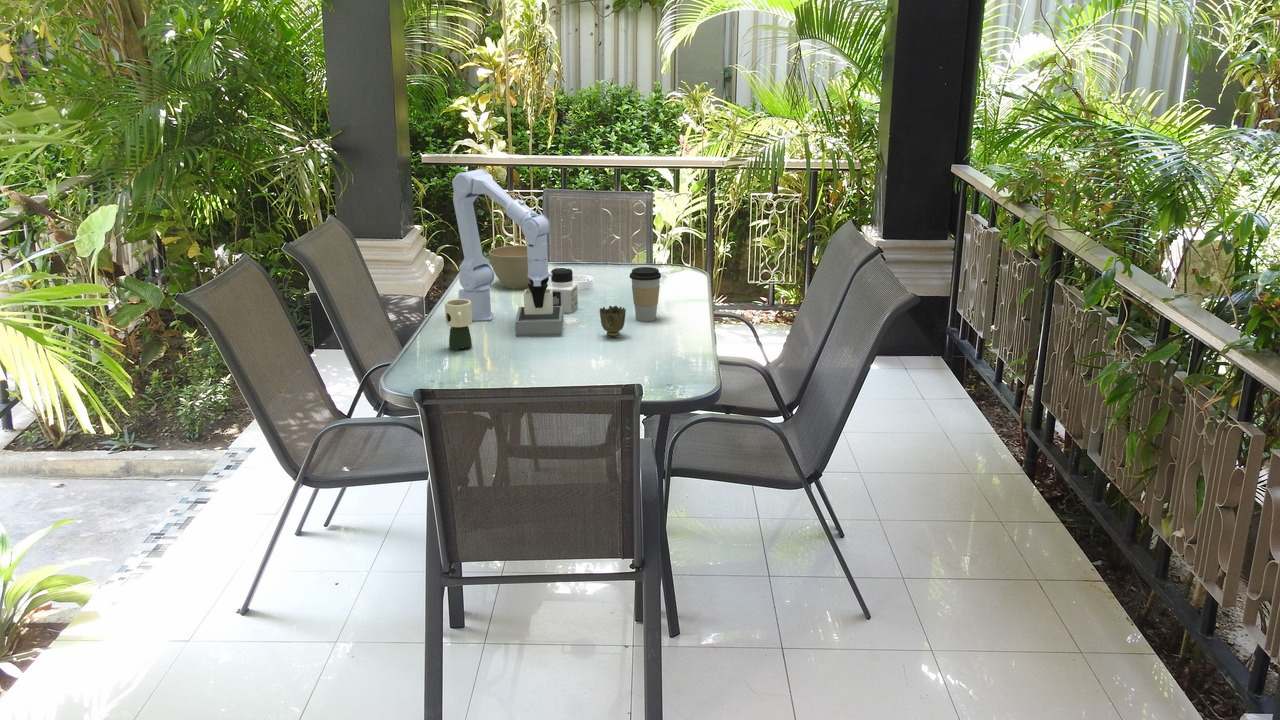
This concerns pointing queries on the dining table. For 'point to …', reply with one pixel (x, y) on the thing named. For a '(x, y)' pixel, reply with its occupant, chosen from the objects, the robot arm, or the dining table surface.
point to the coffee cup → (645, 292)
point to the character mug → (459, 322)
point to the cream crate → (530, 307)
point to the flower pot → (511, 266)
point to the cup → (612, 320)
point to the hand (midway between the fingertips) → (539, 304)
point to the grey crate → (539, 323)
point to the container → (564, 289)
